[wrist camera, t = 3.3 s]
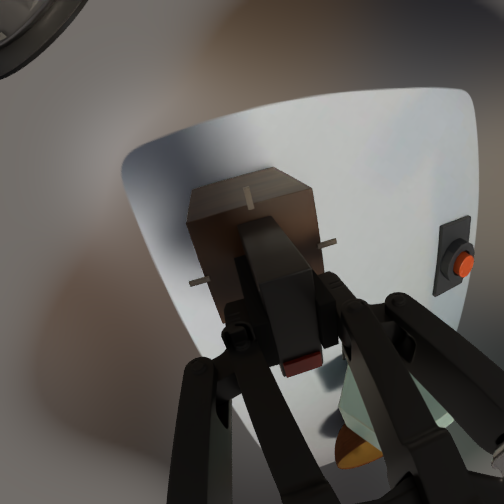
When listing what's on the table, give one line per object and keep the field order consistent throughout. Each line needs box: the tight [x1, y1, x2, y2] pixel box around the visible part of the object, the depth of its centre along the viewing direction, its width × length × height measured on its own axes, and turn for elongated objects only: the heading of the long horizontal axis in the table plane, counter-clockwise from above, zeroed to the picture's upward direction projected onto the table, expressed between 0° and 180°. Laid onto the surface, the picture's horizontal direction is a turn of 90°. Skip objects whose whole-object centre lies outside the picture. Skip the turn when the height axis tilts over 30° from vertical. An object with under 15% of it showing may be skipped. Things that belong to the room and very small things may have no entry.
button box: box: [433, 216, 474, 297], centre depth 34 cm, size 12×7×2 cm, turn 14°
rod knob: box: [237, 216, 323, 378], centre depth 15 cm, size 6×2×7 cm, turn 14°
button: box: [453, 251, 474, 278], centre depth 33 cm, size 4×4×2 cm
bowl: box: [335, 424, 383, 469], centre depth 44 cm, size 18×18×10 cm
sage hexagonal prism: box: [338, 364, 454, 452], centre depth 32 cm, size 17×8×21 cm
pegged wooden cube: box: [186, 167, 337, 324], centre depth 23 cm, size 10×10×10 cm
